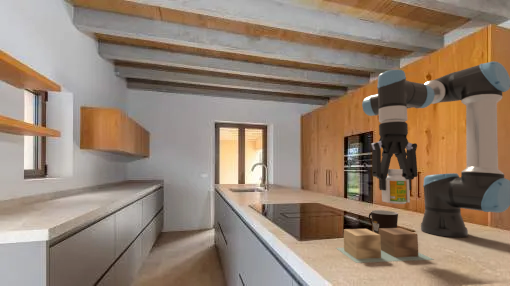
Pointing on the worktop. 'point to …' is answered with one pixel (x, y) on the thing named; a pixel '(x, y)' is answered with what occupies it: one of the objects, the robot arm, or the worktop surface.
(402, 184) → the supplement bottle
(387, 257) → the building board
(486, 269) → the worktop surface
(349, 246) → the oak block
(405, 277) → the worktop surface
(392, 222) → the coffee mug
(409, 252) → the tower block
